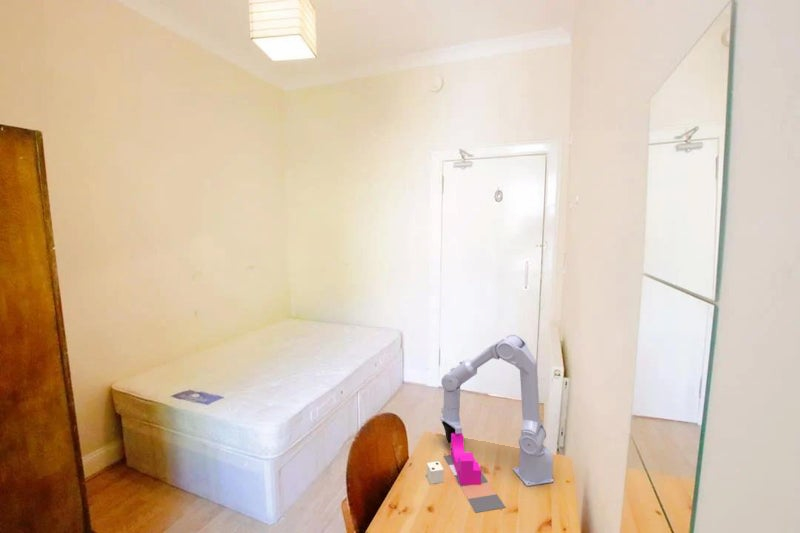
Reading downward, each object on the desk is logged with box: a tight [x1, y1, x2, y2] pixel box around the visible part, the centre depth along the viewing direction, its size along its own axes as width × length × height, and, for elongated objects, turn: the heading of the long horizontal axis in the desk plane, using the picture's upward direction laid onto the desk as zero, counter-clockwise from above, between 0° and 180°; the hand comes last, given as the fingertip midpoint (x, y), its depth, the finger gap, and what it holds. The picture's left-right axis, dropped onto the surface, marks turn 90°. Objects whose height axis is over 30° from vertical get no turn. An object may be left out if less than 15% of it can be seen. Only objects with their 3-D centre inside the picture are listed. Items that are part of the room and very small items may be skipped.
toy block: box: [450, 432, 482, 486], centre depth 111 cm, size 15×6×8 cm, turn 3°
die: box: [426, 461, 445, 485], centre depth 106 cm, size 4×4×4 cm
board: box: [443, 454, 506, 514], centre depth 106 cm, size 9×25×1 cm, turn 13°
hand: (450, 441), depth 123 cm, fingers closed
